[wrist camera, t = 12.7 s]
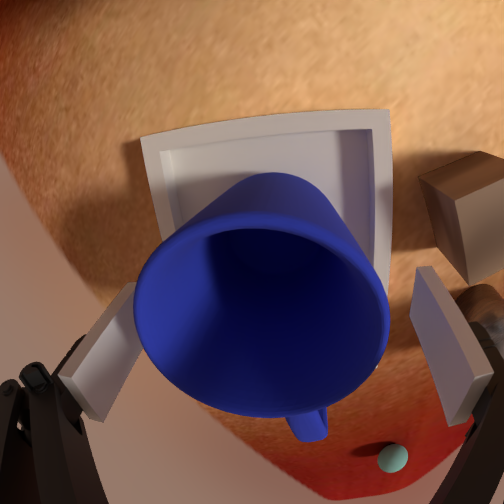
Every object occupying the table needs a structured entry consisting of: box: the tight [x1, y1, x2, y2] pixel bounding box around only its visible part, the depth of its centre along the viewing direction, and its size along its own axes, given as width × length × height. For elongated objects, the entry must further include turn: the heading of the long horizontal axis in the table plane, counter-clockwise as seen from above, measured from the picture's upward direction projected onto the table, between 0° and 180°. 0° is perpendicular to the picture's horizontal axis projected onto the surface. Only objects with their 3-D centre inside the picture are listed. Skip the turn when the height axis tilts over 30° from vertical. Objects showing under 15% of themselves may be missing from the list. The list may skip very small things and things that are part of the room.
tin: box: [455, 284, 504, 359], centre depth 17 cm, size 5×5×6 cm
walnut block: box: [418, 151, 504, 286], centre depth 14 cm, size 5×5×5 cm
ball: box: [378, 444, 408, 472], centre depth 27 cm, size 4×4×4 cm
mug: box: [133, 172, 390, 442], centre depth 15 cm, size 8×12×10 cm
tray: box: [140, 109, 393, 368], centre depth 19 cm, size 17×13×2 cm
